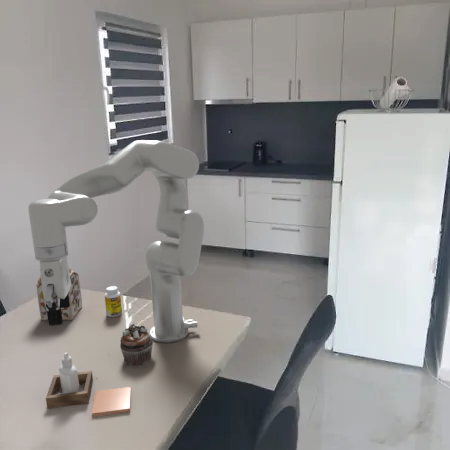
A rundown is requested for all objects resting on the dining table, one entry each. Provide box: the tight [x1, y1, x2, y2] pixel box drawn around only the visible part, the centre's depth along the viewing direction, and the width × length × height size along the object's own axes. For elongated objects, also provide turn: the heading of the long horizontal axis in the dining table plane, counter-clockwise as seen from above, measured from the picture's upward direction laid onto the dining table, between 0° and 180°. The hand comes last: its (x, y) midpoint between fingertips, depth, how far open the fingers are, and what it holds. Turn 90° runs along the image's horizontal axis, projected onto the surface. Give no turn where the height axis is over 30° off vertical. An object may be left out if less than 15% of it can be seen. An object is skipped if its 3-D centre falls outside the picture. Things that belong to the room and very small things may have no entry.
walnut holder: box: [45, 370, 94, 410], centre depth 117 cm, size 10×10×3 cm
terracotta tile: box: [91, 386, 132, 418], centre depth 113 cm, size 9×9×1 cm
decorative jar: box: [36, 267, 83, 321], centre depth 162 cm, size 12×12×18 cm
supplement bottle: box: [104, 285, 123, 318], centre depth 161 cm, size 6×6×10 cm
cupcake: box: [119, 323, 154, 366], centre depth 132 cm, size 10×10×10 cm
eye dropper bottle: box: [58, 352, 81, 394], centre depth 115 cm, size 4×6×12 cm
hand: (59, 315), depth 111 cm, fingers open, 9 cm apart
